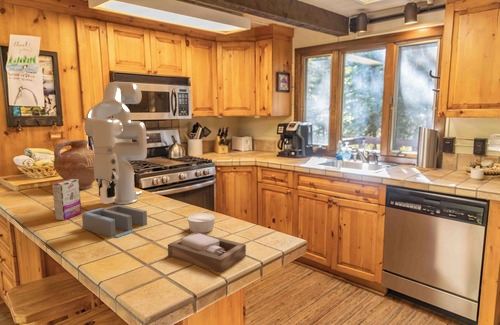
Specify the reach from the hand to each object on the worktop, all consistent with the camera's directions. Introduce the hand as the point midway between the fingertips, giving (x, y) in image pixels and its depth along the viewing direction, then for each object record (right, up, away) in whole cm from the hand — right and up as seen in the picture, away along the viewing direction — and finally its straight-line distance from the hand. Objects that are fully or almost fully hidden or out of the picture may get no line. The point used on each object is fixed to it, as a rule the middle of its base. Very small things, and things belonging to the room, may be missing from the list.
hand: (107, 195), depth 134 cm
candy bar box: (-25, -12, +18) cm, 33 cm away
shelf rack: (+2, -14, +6) cm, 15 cm away
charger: (+43, -18, -22) cm, 51 cm away
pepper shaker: (0, -3, 0) cm, 3 cm away
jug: (-48, -3, +75) cm, 89 cm away
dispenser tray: (+43, -18, -21) cm, 51 cm away
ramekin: (+37, -15, +4) cm, 40 cm away
